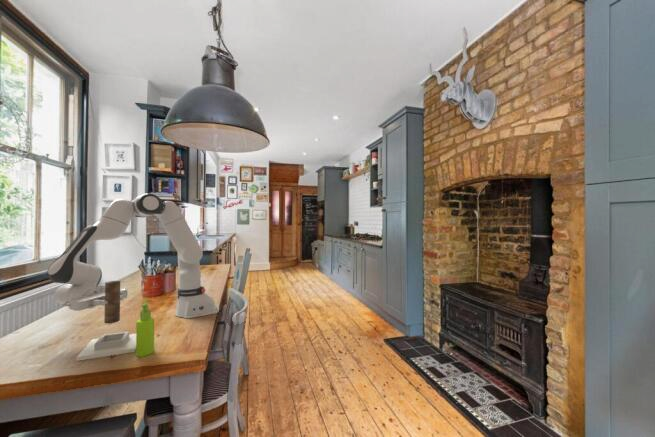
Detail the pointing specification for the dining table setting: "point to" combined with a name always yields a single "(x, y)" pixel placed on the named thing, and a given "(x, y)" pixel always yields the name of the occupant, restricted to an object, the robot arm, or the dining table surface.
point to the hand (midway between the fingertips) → (114, 300)
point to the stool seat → (109, 346)
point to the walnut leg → (112, 302)
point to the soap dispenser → (145, 332)
